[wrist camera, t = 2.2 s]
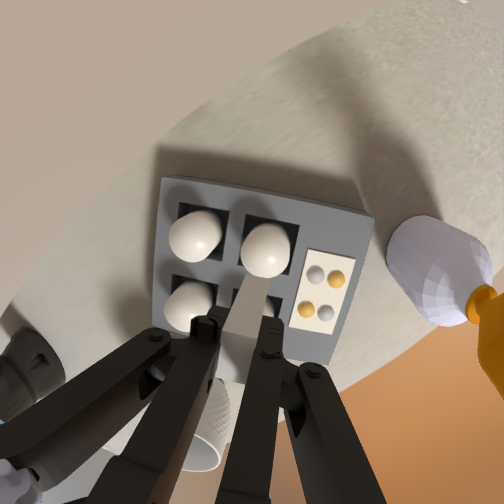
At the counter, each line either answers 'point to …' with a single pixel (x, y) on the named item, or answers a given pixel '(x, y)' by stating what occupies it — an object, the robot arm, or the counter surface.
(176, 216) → the button board
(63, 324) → the counter surface
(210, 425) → the mug
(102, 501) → the robot arm
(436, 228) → the soap bottle
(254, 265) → the button
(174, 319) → the button
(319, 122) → the counter surface
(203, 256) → the button
